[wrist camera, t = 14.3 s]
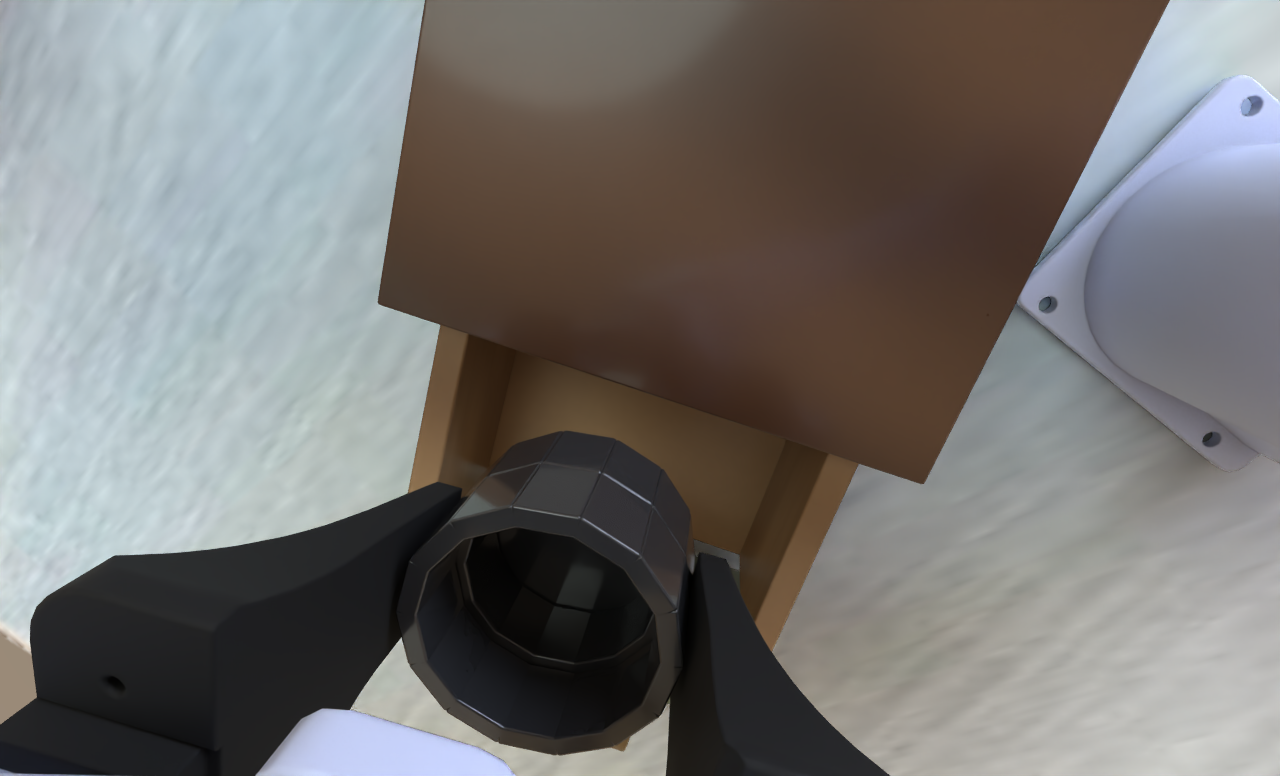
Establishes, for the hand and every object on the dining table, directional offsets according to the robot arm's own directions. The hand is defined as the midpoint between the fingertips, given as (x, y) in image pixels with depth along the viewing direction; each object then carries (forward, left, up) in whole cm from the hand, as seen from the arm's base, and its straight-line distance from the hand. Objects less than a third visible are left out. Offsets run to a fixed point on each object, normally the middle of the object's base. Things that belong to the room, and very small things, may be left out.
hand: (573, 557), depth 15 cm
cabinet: (+3, -10, -9) cm, 14 cm away
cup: (0, 0, -1) cm, 1 cm away
